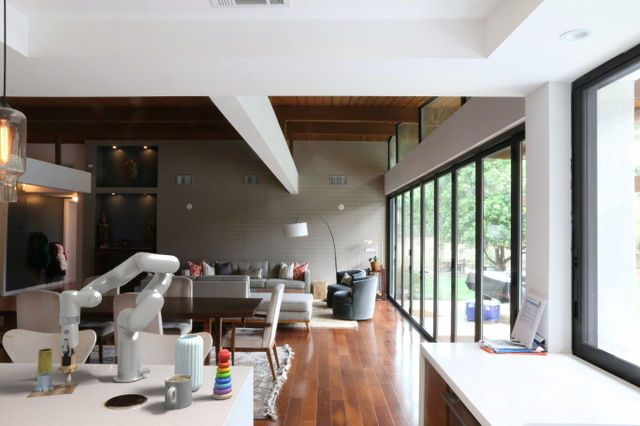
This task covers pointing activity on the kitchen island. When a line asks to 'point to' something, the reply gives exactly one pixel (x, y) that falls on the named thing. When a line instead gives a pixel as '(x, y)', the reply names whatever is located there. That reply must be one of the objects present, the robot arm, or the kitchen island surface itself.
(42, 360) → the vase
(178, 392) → the coffee mug
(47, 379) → the gear
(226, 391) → the stacking toy
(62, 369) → the oak gear
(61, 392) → the board
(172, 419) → the kitchen island surface
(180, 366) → the vase
